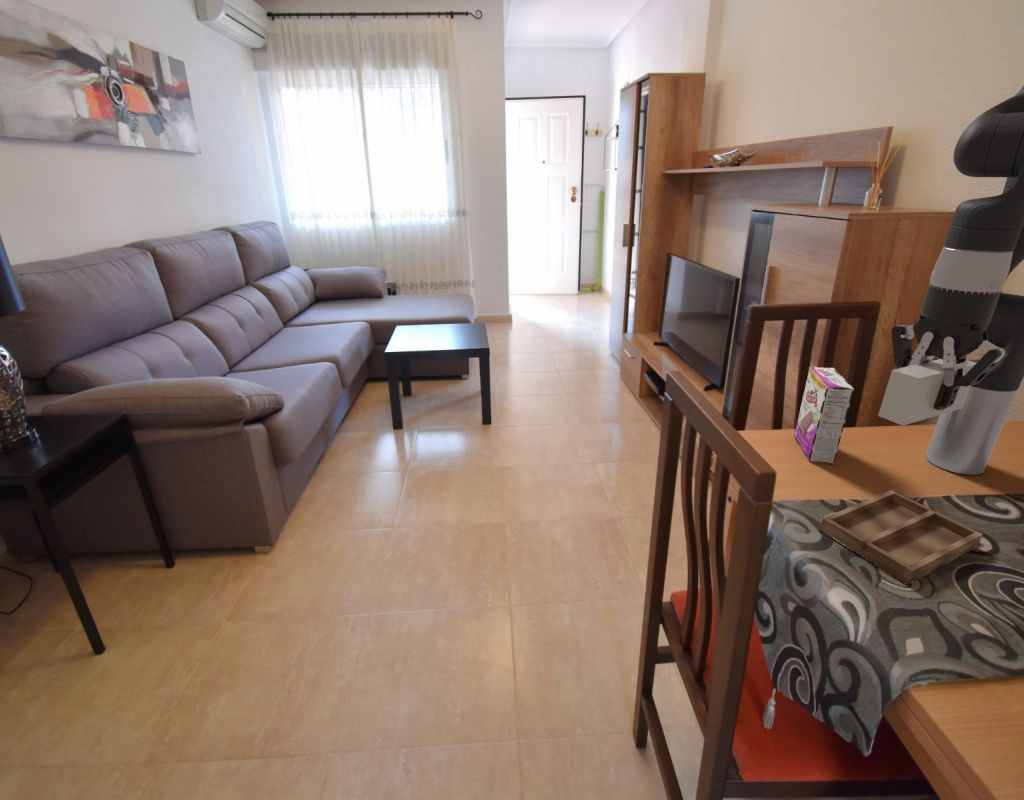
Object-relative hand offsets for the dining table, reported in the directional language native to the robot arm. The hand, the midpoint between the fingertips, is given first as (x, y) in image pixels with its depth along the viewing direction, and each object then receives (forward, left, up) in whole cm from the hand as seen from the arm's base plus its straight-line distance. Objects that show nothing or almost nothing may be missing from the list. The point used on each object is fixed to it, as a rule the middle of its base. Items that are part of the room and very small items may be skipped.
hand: (924, 402), depth 76 cm
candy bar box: (-14, -22, -23) cm, 35 cm away
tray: (0, +3, -22) cm, 23 cm away
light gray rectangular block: (0, 0, -1) cm, 1 cm away
